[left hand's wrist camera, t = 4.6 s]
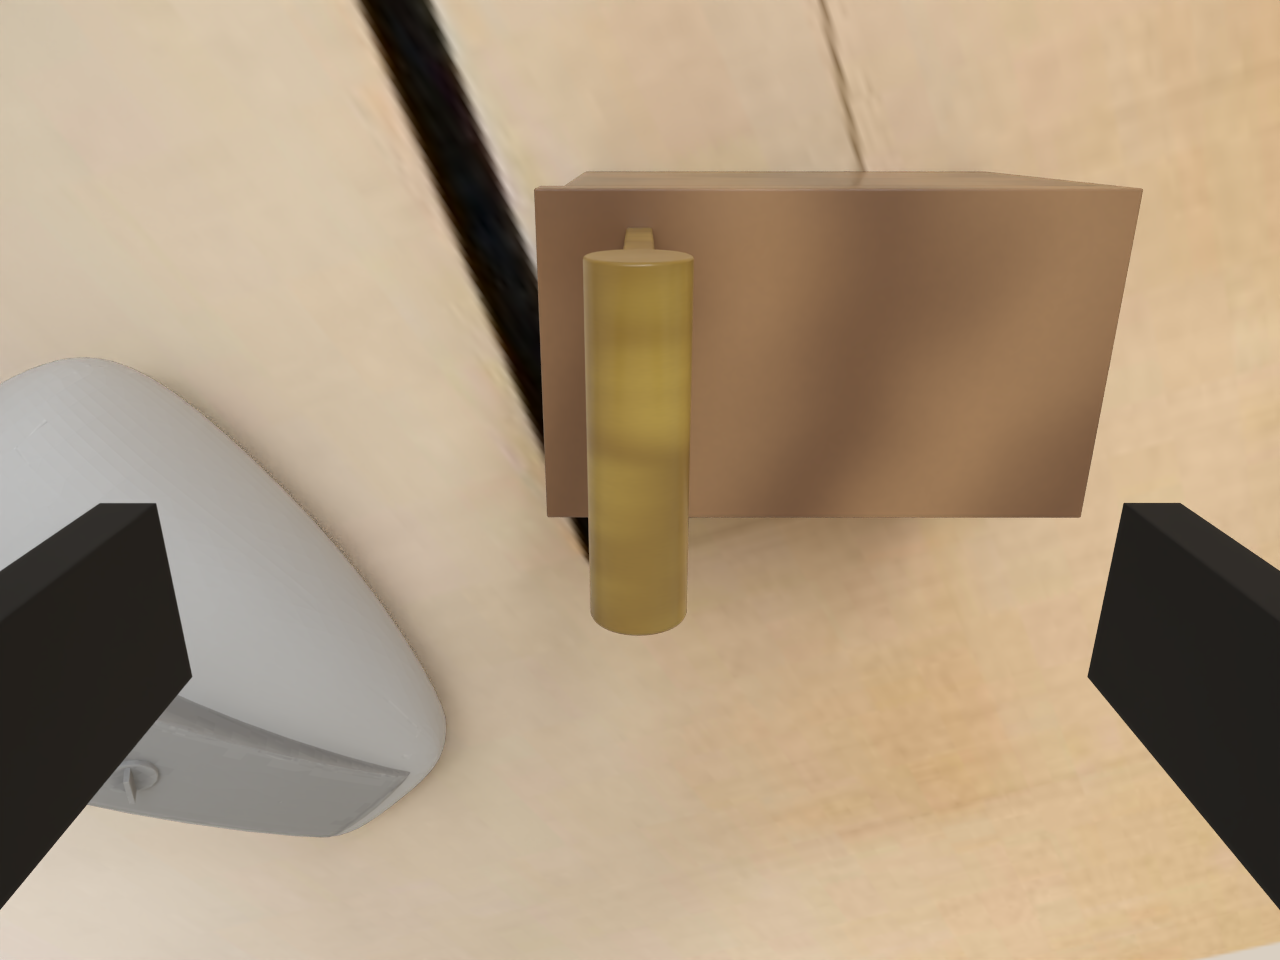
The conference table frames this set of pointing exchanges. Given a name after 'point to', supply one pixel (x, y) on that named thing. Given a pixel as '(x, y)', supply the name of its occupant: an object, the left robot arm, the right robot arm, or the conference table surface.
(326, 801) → the projector
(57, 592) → the left robot arm
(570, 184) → the chest
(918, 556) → the conference table surface
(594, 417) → the lid
